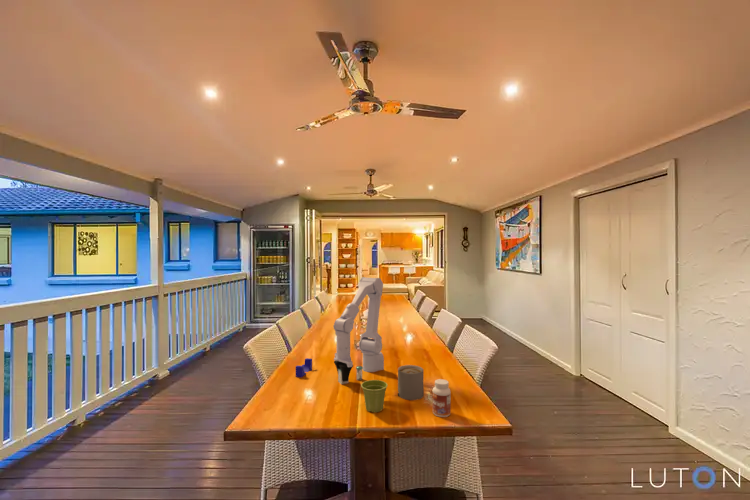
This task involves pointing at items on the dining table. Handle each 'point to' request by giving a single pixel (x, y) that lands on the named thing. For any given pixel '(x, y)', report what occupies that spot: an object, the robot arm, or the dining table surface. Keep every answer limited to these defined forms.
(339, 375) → the leg
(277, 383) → the dining table surface
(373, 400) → the plant pot
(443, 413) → the pill bottle
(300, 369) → the cable clip
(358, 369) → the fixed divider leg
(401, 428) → the dining table surface
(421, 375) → the coffee mug
